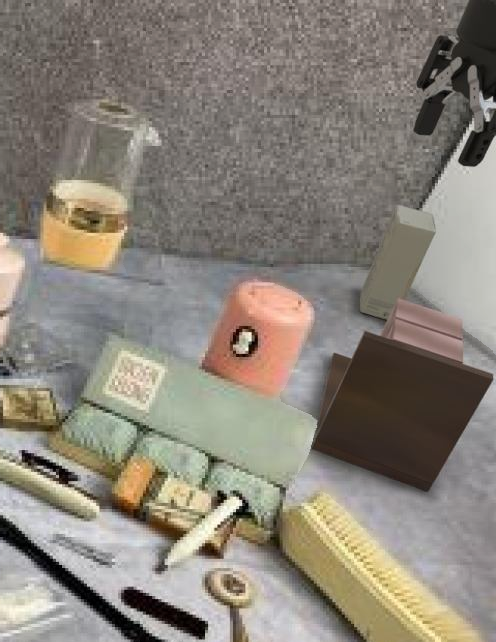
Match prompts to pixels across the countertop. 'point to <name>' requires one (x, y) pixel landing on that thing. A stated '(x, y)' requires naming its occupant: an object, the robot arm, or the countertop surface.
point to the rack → (401, 397)
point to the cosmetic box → (397, 260)
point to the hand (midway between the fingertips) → (443, 149)
